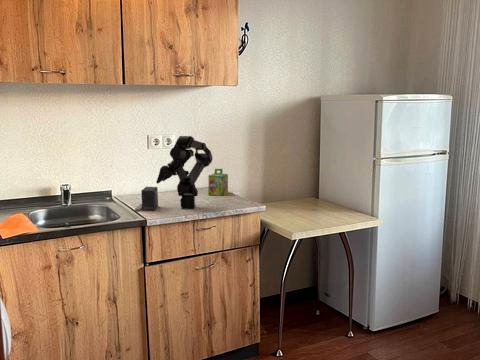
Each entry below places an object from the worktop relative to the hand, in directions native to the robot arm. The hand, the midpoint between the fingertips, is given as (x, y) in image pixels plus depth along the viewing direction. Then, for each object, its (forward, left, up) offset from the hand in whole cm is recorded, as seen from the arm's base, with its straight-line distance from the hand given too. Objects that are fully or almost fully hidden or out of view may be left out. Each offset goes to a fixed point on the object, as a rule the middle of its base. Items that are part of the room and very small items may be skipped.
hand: (159, 181), depth 233 cm
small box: (+5, 0, -14) cm, 15 cm away
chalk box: (-26, -36, -14) cm, 47 cm away
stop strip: (+10, 0, -14) cm, 17 cm away
